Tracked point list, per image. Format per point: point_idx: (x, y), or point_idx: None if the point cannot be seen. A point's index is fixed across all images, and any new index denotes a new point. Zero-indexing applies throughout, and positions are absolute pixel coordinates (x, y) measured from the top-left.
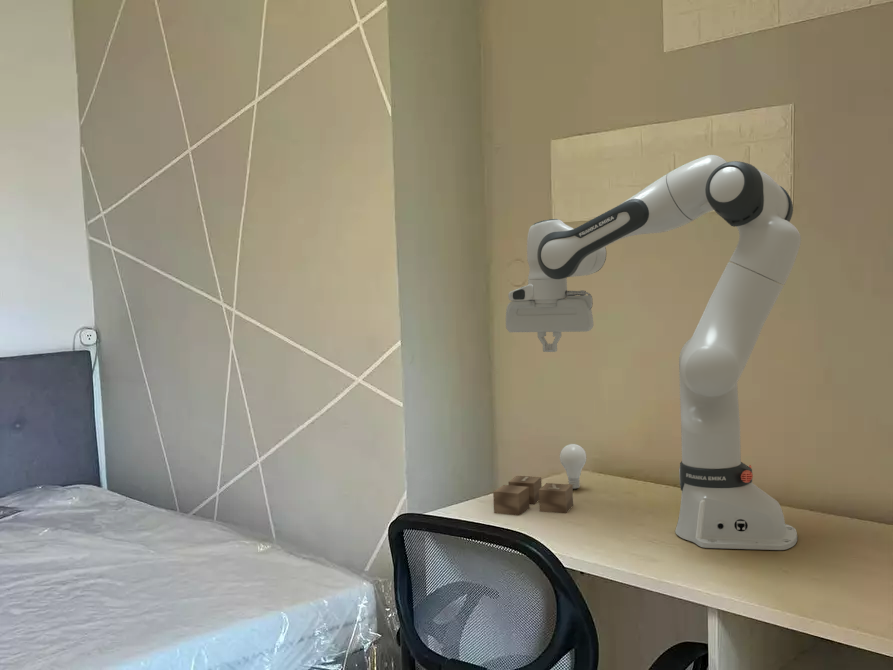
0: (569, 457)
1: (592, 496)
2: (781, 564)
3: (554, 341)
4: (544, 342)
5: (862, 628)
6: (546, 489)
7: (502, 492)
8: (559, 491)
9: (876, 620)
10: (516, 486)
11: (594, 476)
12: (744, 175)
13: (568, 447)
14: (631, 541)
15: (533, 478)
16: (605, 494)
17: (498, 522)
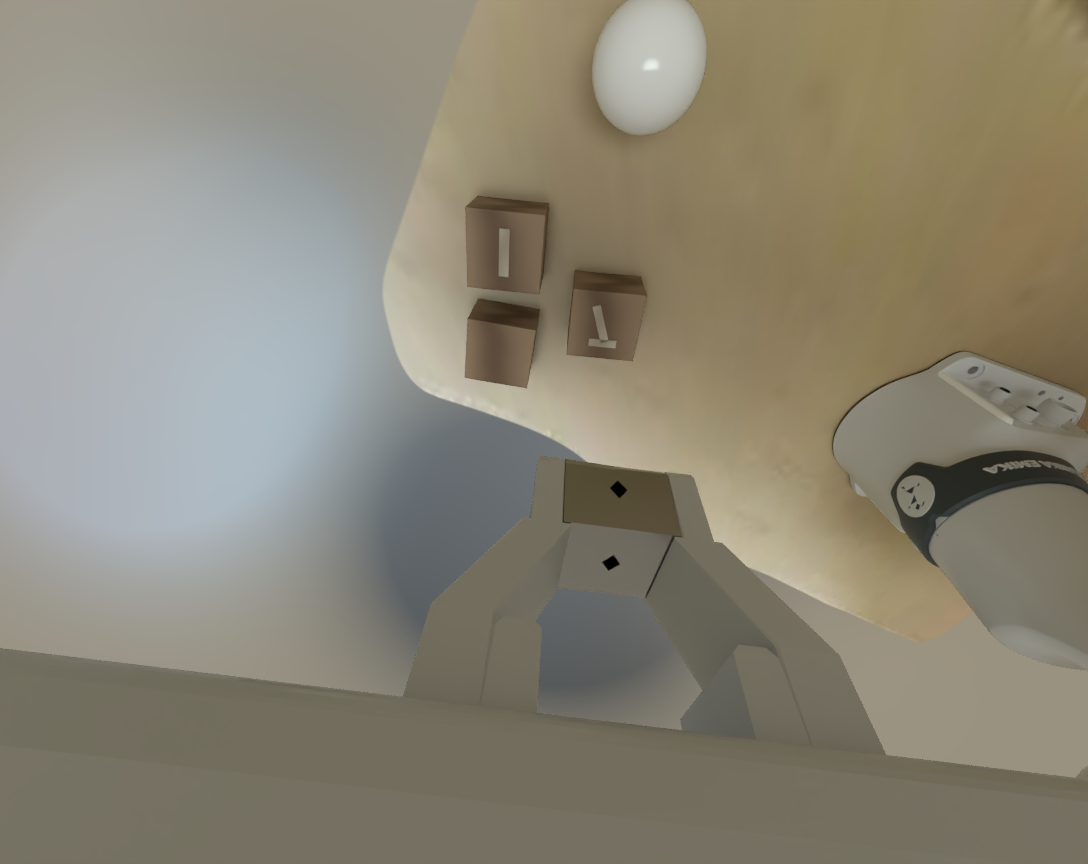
0: (637, 134)
1: (693, 168)
2: None
3: (686, 638)
4: (544, 603)
5: (918, 636)
6: (584, 349)
7: (487, 380)
8: (618, 358)
9: (944, 626)
10: (504, 330)
11: None
12: None
13: (636, 102)
14: (745, 472)
15: (525, 237)
16: (735, 135)
17: (504, 408)
